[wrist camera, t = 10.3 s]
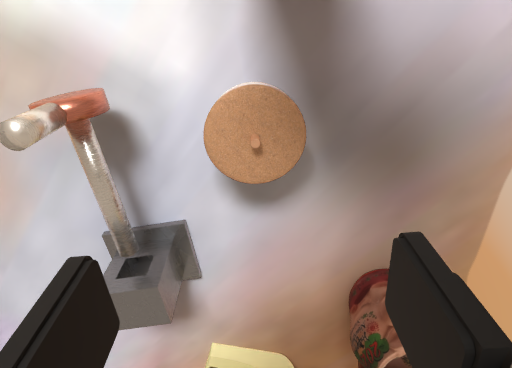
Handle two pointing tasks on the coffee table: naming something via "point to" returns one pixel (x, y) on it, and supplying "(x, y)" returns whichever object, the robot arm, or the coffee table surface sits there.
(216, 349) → the slatted curved stool
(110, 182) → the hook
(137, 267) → the grey square peg socket
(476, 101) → the coffee table surface
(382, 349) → the decorative planter
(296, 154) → the lidded jar
